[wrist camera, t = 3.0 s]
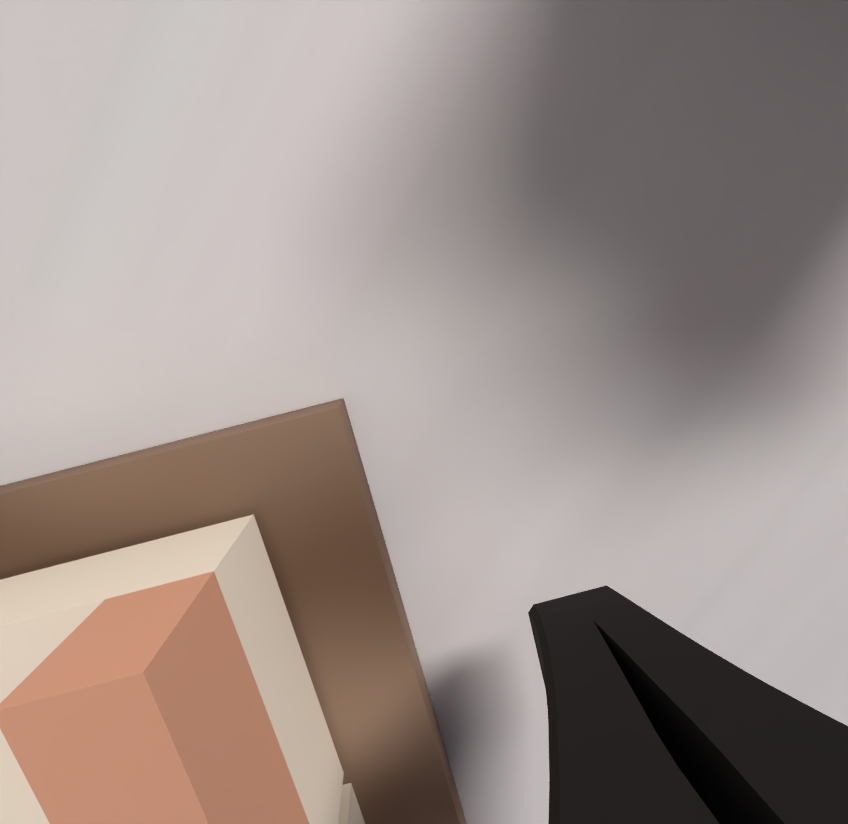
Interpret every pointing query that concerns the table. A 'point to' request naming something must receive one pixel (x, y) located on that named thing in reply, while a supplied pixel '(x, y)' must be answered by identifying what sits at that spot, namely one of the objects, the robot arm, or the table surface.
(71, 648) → the cream block with bar
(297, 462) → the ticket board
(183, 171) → the table surface
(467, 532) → the table surface
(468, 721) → the table surface
